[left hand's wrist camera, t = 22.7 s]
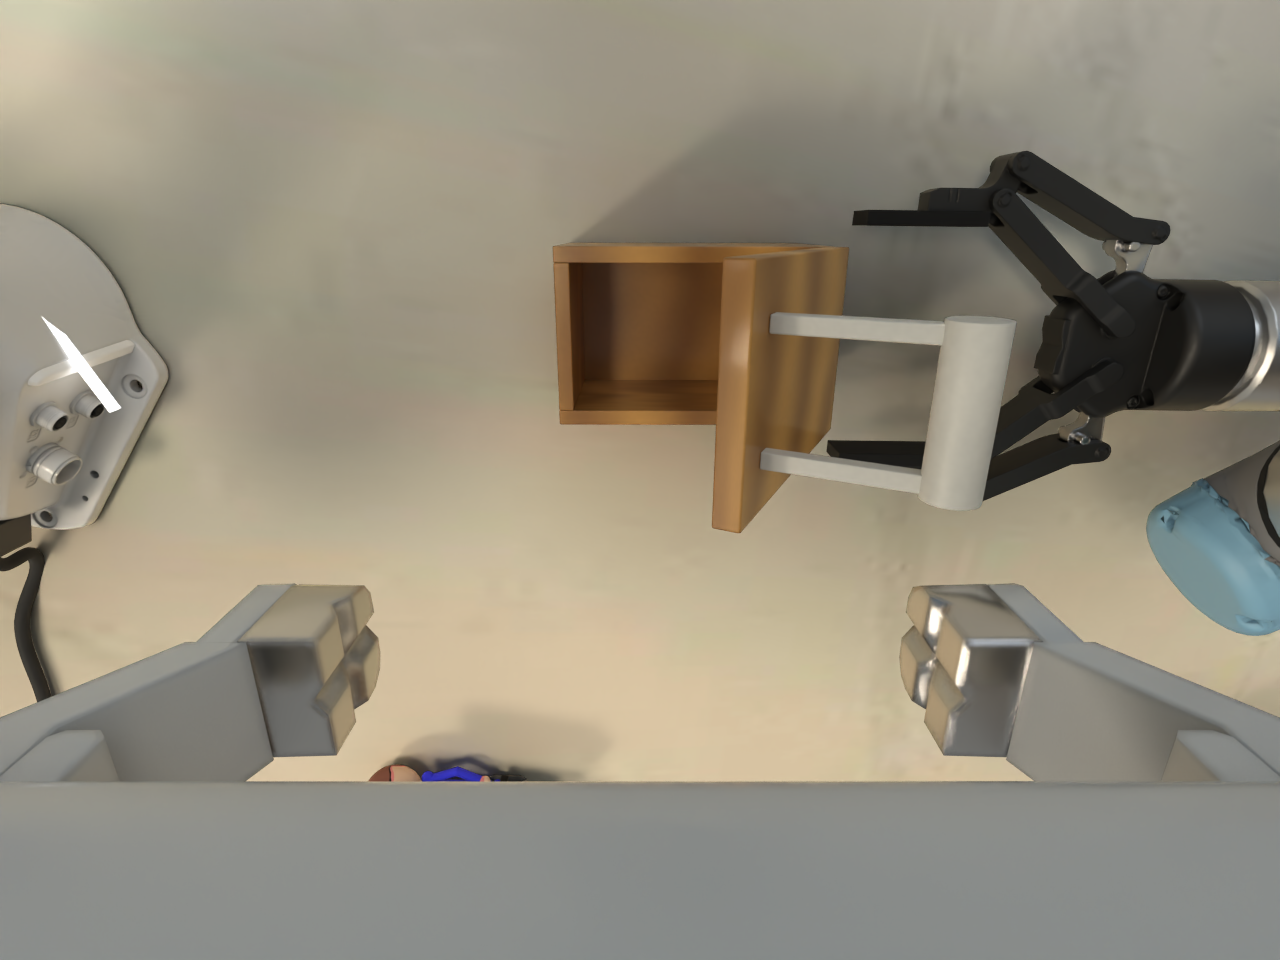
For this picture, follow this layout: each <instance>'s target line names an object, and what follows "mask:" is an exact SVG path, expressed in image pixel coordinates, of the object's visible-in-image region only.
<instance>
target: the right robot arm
mask: <svg viewBox="0 0 1280 960" xmlns="http://www.w3.org/2000/svg"><path fill="white" fill-rule="evenodd" d="M1016 192H1018V193H1019V194H1021V195H1022V196H1024V197H1026V198H1027V199H1029V200H1030V201H1032V202H1034V203H1035V204H1037V205H1038V206H1040V207H1042V208H1043V209H1045V210H1047V211H1048V212H1050V213H1051V214H1053V215H1055V216H1056V217H1058V218H1059V219H1061V220H1063V221H1064V222H1066V223H1068V224H1069V225H1071V226H1072V227H1074V228H1076V229H1077V230H1079V231H1080V232H1082V233H1084V234H1086V235H1087V236H1089V237H1092V238H1094V239H1097V240H1102V241H1104V243H1103V244H1102V248H1103V250H1105V252H1106V254H1107V255H1109V256H1111V257H1113V258H1114V259H1115V261H1116V269H1115V270H1114V271H1111V272H1108V273H1106V274H1105V275H1103V276H1102V277H1100V278H1099V279H1096V278H1095V277H1094V276H1092V275H1091V274H1089V273H1087V272H1085V271H1084V270H1083V269H1082V268H1081V267H1080V266H1079V265H1078V264H1077V263H1076V261H1075V260H1074V259H1073V258H1072V257H1071V256H1070V255H1069V254H1068V252H1067V251H1066V250H1065V249H1064V248H1063V247H1062V246H1061V244H1060V243H1059V242H1058V241H1057V240H1056V239H1055V238H1054V237H1053V235H1052V234H1051V233H1050V232H1049V231H1048V230H1047V229H1046V228H1045V226H1044V225H1043V224H1042V223H1041V222H1040V221H1039V220H1038V218H1037V217H1036V216H1035V215H1034V214H1033V213H1032V212H1031V211H1030V209H1029V208H1028V207H1027V206H1026V205H1025V204H1024V203H1023V201H1022V200H1021V199H1020V198H1019V197H1018V196H1017V195H1016ZM852 225H870V226H946V227H988V226H989V227H990V228H991V229H992V231H993V232H994V233H995V234H996V235H997V236H998V237H999V238H1000V239H1001V240H1002V242H1003V243H1004V244H1005V245H1006V246H1007V247H1008V248H1009V249H1010V250H1011V251H1012V253H1013V254H1014V255H1015V256H1016V257H1017V258H1018V259H1019V260H1020V261H1021V262H1022V263H1023V265H1024V266H1025V267H1026V268H1027V269H1028V270H1029V271H1030V272H1031V273H1032V274H1033V276H1034V277H1035V278H1036V279H1037V280H1038V281H1039V282H1040V283H1041V288H1042V290H1043V291H1044V292H1045V293H1046V294H1047V295H1048V297H1049V298H1050V299H1051V300H1052V301H1053V302H1054V303H1055V304H1056V305H1057V306H1056V307H1055V308H1054V309H1053V310H1052V312H1051V314H1050V316H1045V318H1044V323H1043V328H1042V334H1043V343H1042V345H1041V347H1040V349H1039V351H1038V353H1037V355H1036V360H1035V365H1034V368H1036V369H1038V373H1039V376H1038V377H1037V378H1035V379H1034V380H1032V381H1031V382H1030V383H1028V384H1027V385H1025V386H1024V387H1022V388H1021V389H1020V390H1019V394H1018V396H1016V397H1015V398H1014V399H1012V400H1011V401H1009V402H1008V403H1006V404H1005V405H1004V406H1002V407H1001V408H1000V413H999V418H998V423H997V428H996V434H995V439H994V444H993V449H992V454H991V460H990V465H989V470H988V475H987V480H986V486H985V491H984V496H983V501H984V500H987V499H989V498H992V497H994V496H996V495H999V494H1001V493H1004V492H1006V491H1008V490H1011V489H1013V488H1016V487H1018V486H1021V485H1023V484H1025V483H1028V482H1030V481H1033V480H1035V479H1037V478H1040V477H1042V476H1045V475H1047V474H1050V473H1052V472H1054V471H1057V470H1059V469H1062V468H1064V467H1066V466H1069V465H1071V464H1081V463H1091V462H1100V461H1104V460H1105V459H1107V458H1108V457H1109V455H1110V453H1111V447H1110V446H1109V445H1108V444H1107V443H1105V442H1102V435H1103V428H1104V421H1105V416H1108V415H1110V414H1112V413H1114V412H1117V411H1121V410H1182V411H1191V410H1199V409H1201V410H1204V411H1280V281H1243V280H1236V281H1224V282H1223V281H1218V280H1169V279H1151V278H1149V277H1147V276H1146V275H1145V274H1143V270H1144V268H1145V265H1146V262H1147V259H1148V257H1149V254H1150V251H1151V249H1152V246H1153V245H1158V244H1161V243H1163V242H1164V241H1165V240H1166V239H1167V238H1168V236H1169V234H1170V226H1169V225H1168V223H1166V222H1164V221H1158V220H1151V219H1144V218H1136V217H1132V216H1131V215H1129V214H1128V213H1126V212H1125V211H1123V210H1121V209H1120V208H1118V207H1117V206H1115V205H1114V204H1112V203H1110V202H1109V201H1107V200H1106V199H1104V198H1102V197H1101V196H1099V195H1098V194H1096V193H1095V192H1093V191H1091V190H1090V189H1088V188H1087V187H1085V186H1084V185H1082V184H1080V183H1079V182H1077V181H1076V180H1074V179H1073V178H1071V177H1069V176H1068V175H1066V174H1065V173H1063V172H1062V171H1060V170H1058V169H1057V168H1055V167H1054V166H1052V165H1051V164H1049V163H1047V162H1046V161H1044V160H1043V159H1041V158H1039V157H1038V156H1036V155H1035V154H1033V153H1032V152H1029V151H1022V152H1017V153H1012V154H1007V155H1002V156H999V157H997V158H995V159H994V160H993V162H992V163H991V166H990V175H989V177H988V179H987V181H986V182H985V183H984V184H983V186H981V187H980V188H936V189H929V190H927V191H924V192H922V193H920V199H919V206H918V211H914V210H862V211H854V215H853V223H852ZM1052 392H1055V394H1051V393H1052ZM1073 409H1075V410H1076V411H1078V412H1080V414H1079V417H1078V419H1077V420H1076V421H1075V422H1074V423H1072V424H1069V425H1066V426H1061V427H1060V428H1059V429H1058V433H1059V434H1052V435H1048V436H1044V437H1042V438H1039V439H1036V440H1034V441H1031V442H1029V443H1027V444H1024V445H1022V446H1020V447H1017V448H1015V449H1013V450H1010V451H1008V452H1005V453H1003V454H1001V455H999V454H1000V453H1001V452H1003V451H1004V450H1006V449H1007V448H1009V447H1010V446H1012V445H1013V444H1015V443H1016V442H1018V441H1019V440H1021V439H1022V438H1023V437H1025V436H1026V435H1028V434H1029V433H1031V432H1032V431H1034V430H1035V429H1037V428H1038V427H1040V426H1041V425H1042V424H1044V423H1045V422H1047V421H1049V420H1051V419H1057V418H1060V417H1062V416H1064V415H1065V414H1067V413H1068V412H1070V411H1071V410H1073ZM925 443H926V442H924V441H838V440H828V444H827V453H828V454H829V455H830V456H831V457H836V458H843V459H850V460H857V461H864V462H871V463H878V464H885V465H892V466H899V467H906V468H913V469H920V470H921V469H922V463H923V456H924V450H925ZM997 455H998V456H997ZM1146 531H1147V537H1148V541H1149V544H1150V546H1151V549H1152V551H1153V553H1154V555H1155V557H1156V559H1157V561H1158V563H1159V564H1160V566H1161V567H1162V569H1163V570H1164V572H1165V573H1166V574H1167V576H1168V577H1169V578H1170V580H1171V581H1172V582H1173V584H1174V585H1175V586H1176V587H1177V588H1178V589H1179V591H1180V592H1181V593H1182V594H1183V595H1184V596H1185V597H1186V598H1187V599H1188V600H1189V601H1190V602H1191V603H1192V604H1193V605H1194V606H1195V607H1196V608H1197V609H1198V610H1200V611H1201V612H1202V613H1203V614H1205V615H1206V616H1207V617H1209V618H1210V619H1212V620H1213V621H1214V622H1216V623H1218V624H1219V625H1221V626H1223V627H1225V628H1227V629H1229V630H1232V631H1234V632H1236V633H1240V634H1245V635H1251V636H1259V635H1266V634H1270V633H1272V632H1275V631H1277V630H1280V441H1278V442H1277V443H1275V444H1273V445H1271V446H1269V447H1267V448H1265V449H1263V450H1262V451H1260V452H1258V453H1256V454H1254V455H1252V456H1250V457H1248V458H1246V459H1244V460H1242V461H1240V462H1238V463H1236V464H1234V465H1231V466H1229V467H1227V468H1225V469H1223V470H1221V471H1219V472H1217V473H1215V474H1213V475H1211V476H1209V477H1207V478H1205V479H1203V478H1202V479H1200V480H1198V481H1196V482H1193V484H1192V485H1191V487H1189V488H1187V489H1185V490H1184V491H1182V492H1180V493H1178V494H1176V495H1175V496H1173V497H1171V498H1169V499H1167V500H1166V501H1164V502H1162V503H1160V504H1159V505H1157V506H1156V507H1155V508H1154V509H1153V510H1152V511H1151V513H1150V514H1149V516H1148V520H1147V526H1146Z"/></svg>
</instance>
